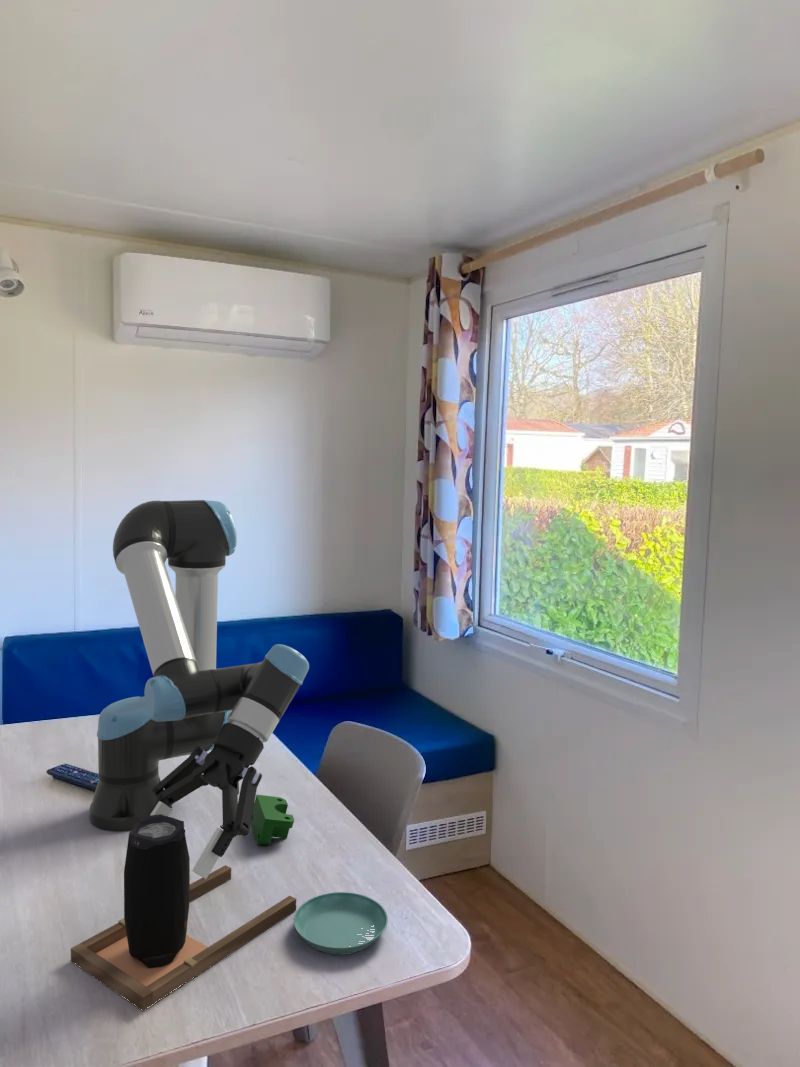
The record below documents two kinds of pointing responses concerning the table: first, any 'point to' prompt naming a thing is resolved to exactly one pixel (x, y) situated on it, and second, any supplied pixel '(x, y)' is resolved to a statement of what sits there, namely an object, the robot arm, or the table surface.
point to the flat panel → (139, 971)
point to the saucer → (340, 922)
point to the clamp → (270, 819)
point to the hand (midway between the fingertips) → (168, 859)
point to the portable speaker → (156, 889)
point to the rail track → (192, 966)
